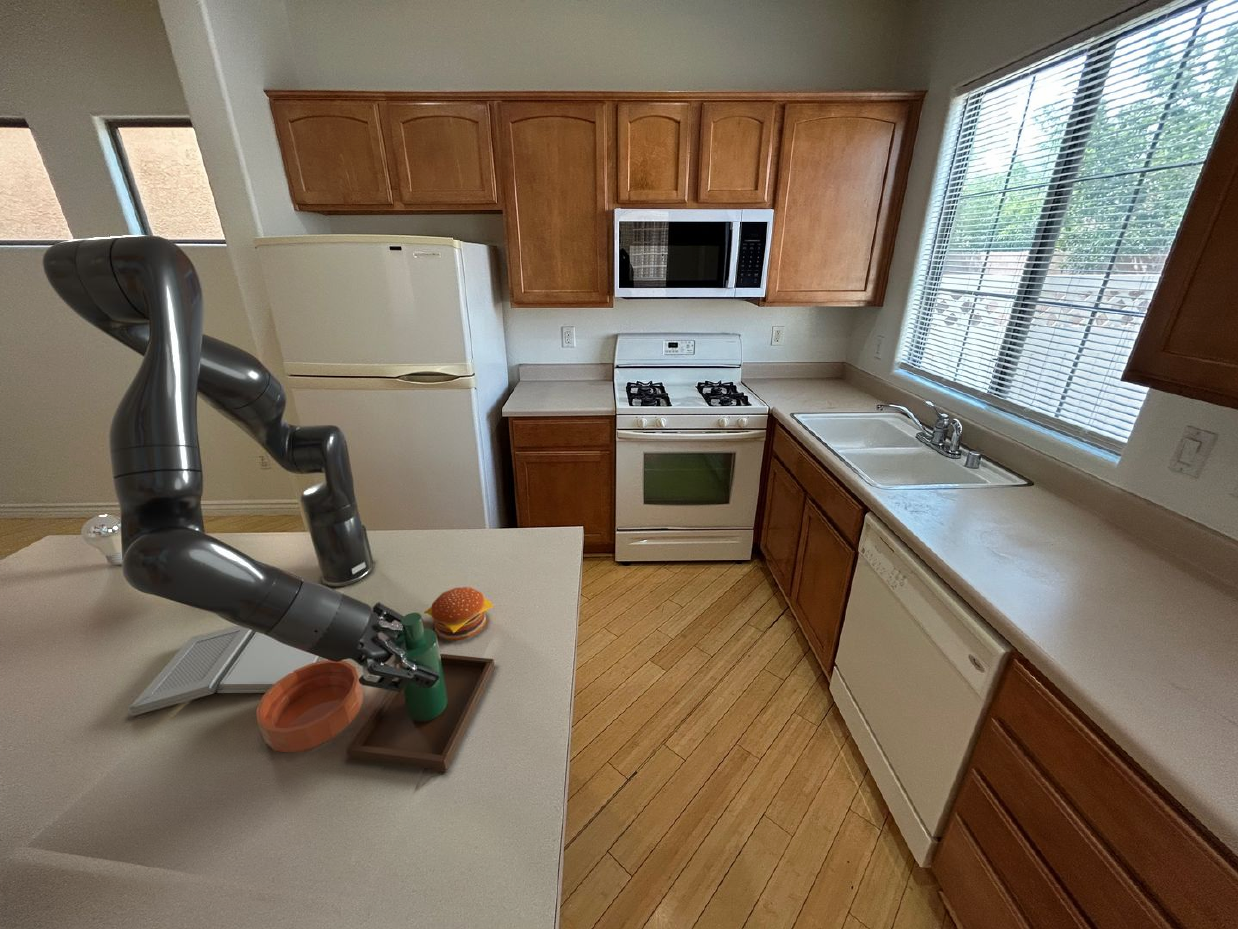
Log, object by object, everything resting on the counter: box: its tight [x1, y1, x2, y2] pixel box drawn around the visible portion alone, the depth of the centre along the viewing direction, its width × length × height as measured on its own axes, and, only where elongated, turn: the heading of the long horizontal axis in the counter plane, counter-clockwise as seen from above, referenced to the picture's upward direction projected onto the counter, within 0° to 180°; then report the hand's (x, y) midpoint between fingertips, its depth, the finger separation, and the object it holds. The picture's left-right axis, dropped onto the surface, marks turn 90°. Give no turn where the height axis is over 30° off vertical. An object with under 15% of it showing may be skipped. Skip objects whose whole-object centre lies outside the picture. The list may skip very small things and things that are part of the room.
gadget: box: [128, 625, 319, 717], centre depth 77 cm, size 23×15×4 cm, turn 102°
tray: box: [346, 653, 496, 773], centre depth 70 cm, size 18×14×2 cm
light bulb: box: [80, 514, 122, 566], centre depth 102 cm, size 7×7×12 cm
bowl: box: [255, 659, 365, 754], centre depth 69 cm, size 12×12×4 cm
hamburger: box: [423, 586, 495, 641], centre depth 86 cm, size 9×10×7 cm
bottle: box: [396, 612, 448, 722], centre depth 67 cm, size 6×6×16 cm
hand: (433, 664), depth 68 cm, fingers closed on bottle, 5 cm apart
